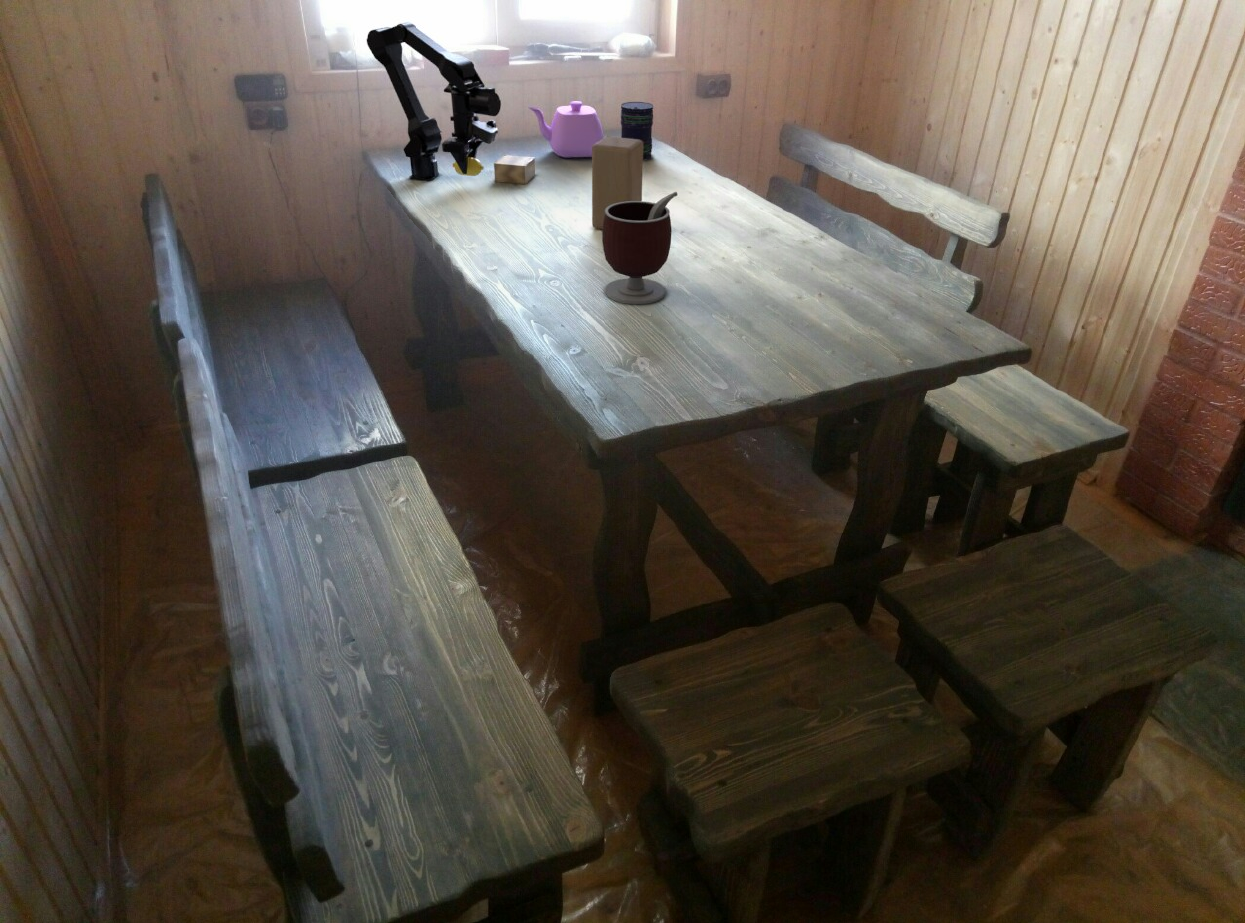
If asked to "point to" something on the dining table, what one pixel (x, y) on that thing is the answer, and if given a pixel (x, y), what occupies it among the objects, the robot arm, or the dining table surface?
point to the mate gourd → (637, 248)
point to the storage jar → (638, 124)
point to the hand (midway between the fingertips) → (468, 171)
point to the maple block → (514, 169)
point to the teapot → (571, 130)
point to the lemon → (470, 167)
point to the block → (615, 174)
